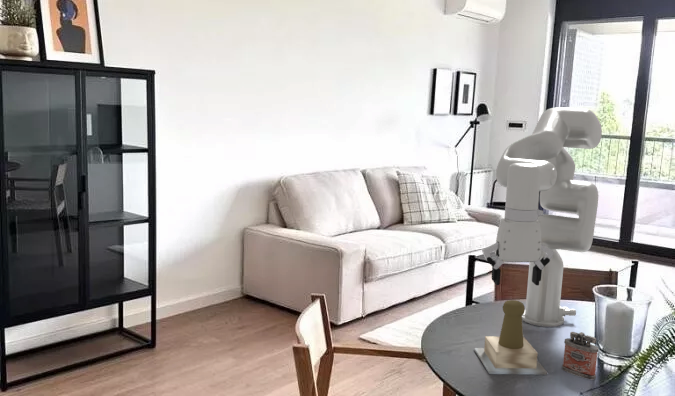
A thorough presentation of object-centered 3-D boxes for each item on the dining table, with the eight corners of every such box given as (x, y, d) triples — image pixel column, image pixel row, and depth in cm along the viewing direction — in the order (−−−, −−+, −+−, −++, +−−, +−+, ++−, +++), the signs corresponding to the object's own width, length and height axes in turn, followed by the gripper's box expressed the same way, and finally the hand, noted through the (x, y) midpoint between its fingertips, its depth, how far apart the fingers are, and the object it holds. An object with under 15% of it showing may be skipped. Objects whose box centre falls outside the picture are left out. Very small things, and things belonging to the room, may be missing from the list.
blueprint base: (527, 350, 164) (528, 334, 163) (547, 374, 150) (548, 356, 150) (474, 350, 164) (475, 333, 163) (489, 374, 150) (490, 355, 149)
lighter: (559, 369, 153) (562, 330, 152) (565, 365, 156) (569, 327, 154) (591, 381, 148) (596, 340, 146) (598, 376, 150) (602, 337, 148)
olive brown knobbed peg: (524, 350, 153) (528, 306, 151) (498, 347, 154) (502, 304, 152) (522, 340, 159) (526, 298, 157) (497, 338, 160) (501, 296, 158)
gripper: (550, 212, 155) (545, 279, 158) (481, 211, 154) (476, 278, 157) (562, 218, 147) (556, 288, 151) (489, 217, 147) (484, 288, 150)
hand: (515, 283), depth 154 cm, fingers open, 9 cm apart
